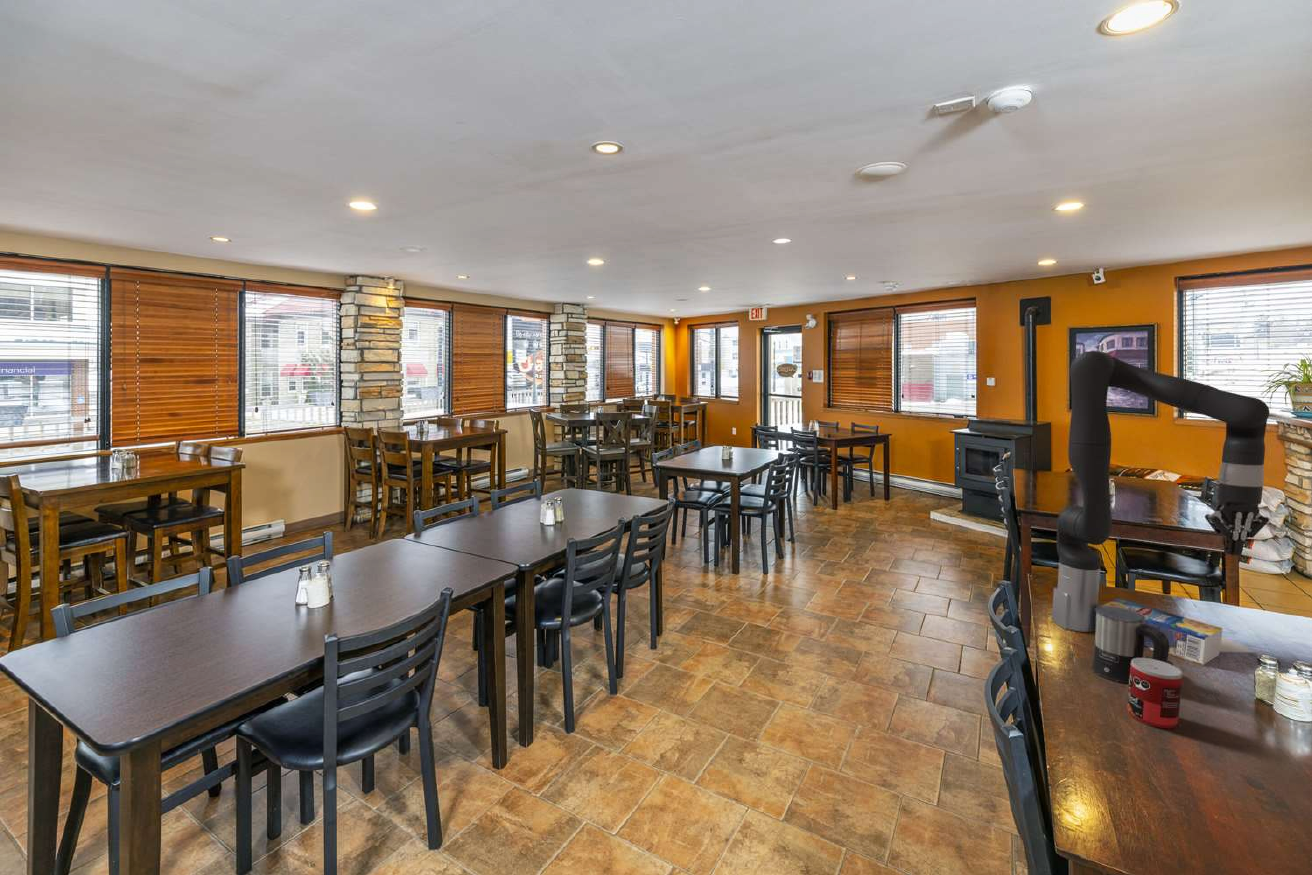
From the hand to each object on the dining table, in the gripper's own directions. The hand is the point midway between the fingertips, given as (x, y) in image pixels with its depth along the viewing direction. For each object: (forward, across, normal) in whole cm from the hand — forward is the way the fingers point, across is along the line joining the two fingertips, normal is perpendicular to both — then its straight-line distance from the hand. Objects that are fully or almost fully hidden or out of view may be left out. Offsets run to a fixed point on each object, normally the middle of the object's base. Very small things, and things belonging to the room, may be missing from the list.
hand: (1233, 554), depth 141 cm
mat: (+27, 0, +15) cm, 31 cm away
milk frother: (+27, -26, -7) cm, 38 cm away
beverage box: (+23, -2, +1) cm, 23 cm away
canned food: (+27, -35, -26) cm, 51 cm away
